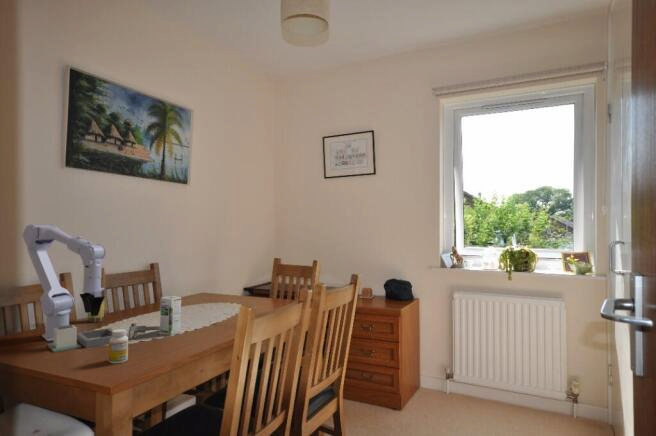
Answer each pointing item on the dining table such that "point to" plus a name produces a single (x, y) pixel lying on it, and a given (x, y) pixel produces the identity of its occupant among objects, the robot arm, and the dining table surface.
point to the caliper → (140, 330)
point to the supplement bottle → (118, 346)
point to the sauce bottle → (101, 311)
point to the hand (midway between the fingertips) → (91, 313)
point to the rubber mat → (62, 347)
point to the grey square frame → (87, 343)
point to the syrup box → (170, 315)
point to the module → (65, 336)
